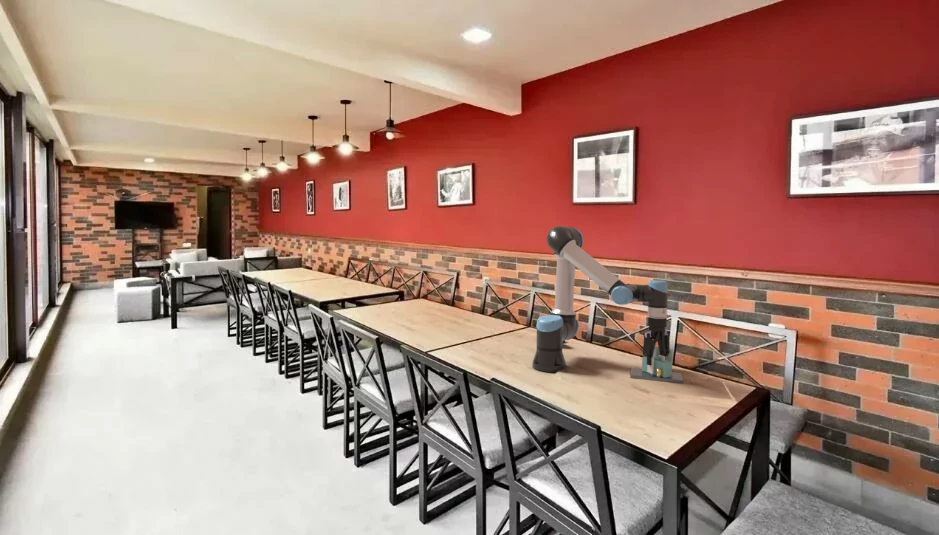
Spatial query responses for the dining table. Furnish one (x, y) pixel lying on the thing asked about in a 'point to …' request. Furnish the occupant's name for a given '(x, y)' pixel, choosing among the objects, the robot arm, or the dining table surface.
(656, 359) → the teal rectangular block
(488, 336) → the dining table surface
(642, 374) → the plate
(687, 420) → the dining table surface
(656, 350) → the cup
